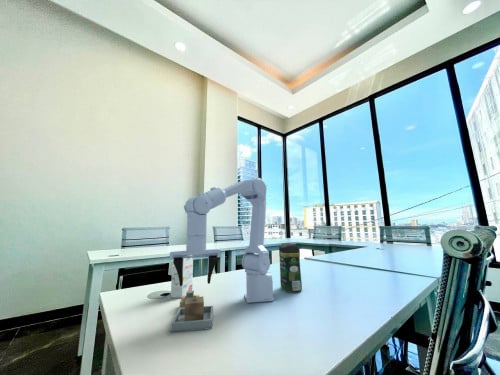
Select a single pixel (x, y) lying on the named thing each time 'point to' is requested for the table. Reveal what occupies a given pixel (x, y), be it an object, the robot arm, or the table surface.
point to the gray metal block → (190, 294)
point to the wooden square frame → (183, 300)
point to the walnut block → (194, 309)
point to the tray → (183, 325)
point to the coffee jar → (290, 267)
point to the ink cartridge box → (179, 290)
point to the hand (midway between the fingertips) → (195, 283)
